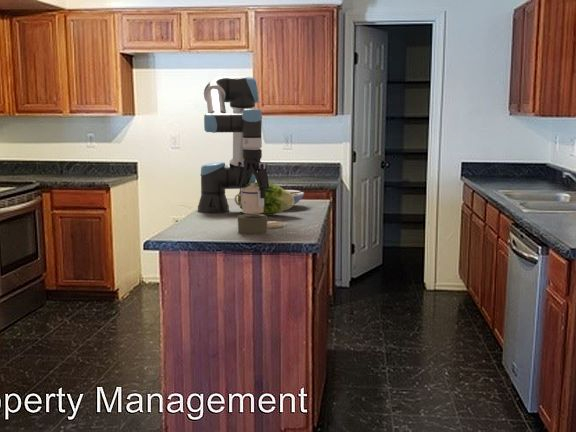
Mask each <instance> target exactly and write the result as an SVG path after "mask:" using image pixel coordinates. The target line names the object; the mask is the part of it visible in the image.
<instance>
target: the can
mask: <svg viewBox="0 0 576 432" xmlns="http://www.w3.org/2000/svg"><path fill="white" fill-rule="evenodd" d="M267 221H268V215H264V214H246V213H241V214H238V215H237V229H238V231H237V234H239V235H242V236H262V234H263V235H266V234H267V233H268V228H267Z"/></svg>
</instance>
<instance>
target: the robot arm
mask: <svg viewBox="0 0 576 432" xmlns="http://www.w3.org/2000/svg"><path fill="white" fill-rule="evenodd" d="M258 91H259V90H258V85H257V80H256V79H255V78H254V77H251V76H223V75H222V76H218V77H215V78H214V79H212V80H211V81H209V82H208V83H207V84H206V86H205V87H204V89H203V96H204V97H203V99H204V101H205V102H206V106H207V107H206V108H207V113H205V114H204V116H203V123H204V124H203V127H204V129H203V130H204V131H205V132H206V133H213V134H215V133H216V134H217V133H232V158H231V159H230V160H229V164H226V163H225V161H215V162H209V163H205V164H203V165H202V166H201V167H200V174H199V176H200V194H201V195H200V198H199V201H198V205H197V211H198V213H199V212H200V213H207V214H208V213H209V214H215V213H216V214H217V213H218V214H219V213H220V214H221V213H225V212H226V213H227V212H229V211H230V205H229V202H228V198H227V196H226V190H239V192H240V194H242V192H241V191H242V189H245V188H246V187H247V186H246V185H247V184H251V183H258V186H259V189H258V207H262V206H264V198H265V190H266V189H269V184H270V182H269V179H268V178H269V176H268V172H267V171H268V170H267V169H268V168H267V166H268V164H267V163H262V162H261V159H262V158H263V152H262V147H263V141H262V140H263V139H262V137H263V136H262V126H263V125H262V124H263V123H262V119H263V114H262V110H261V109H259V108H255V107H256V104H257V103H259V92H258ZM225 103H229V107H230V108H231V109H232V113H227V110H226V109H227V108H226V105H225ZM241 204H242V196H241Z"/></svg>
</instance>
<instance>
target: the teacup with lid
mask: <svg viewBox="0 0 576 432" xmlns="http://www.w3.org/2000/svg"><path fill="white" fill-rule="evenodd" d="M255 183H256V182H255ZM255 183H251V184H250V186H248V187H247V188H245V189H242V191H241V192H242V194H239V193H237V194H236V195H235V196H234V202H235V204H236V205H237V206H238V207H240V206H242V209H241V210H242V211H241V212H242V214H260V213H263V212H264V206H262V207H258V189H259V187H258V186H255ZM238 196H242V204H239V203H238Z"/></svg>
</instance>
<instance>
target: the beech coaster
mask: <svg viewBox="0 0 576 432" xmlns="http://www.w3.org/2000/svg"><path fill="white" fill-rule="evenodd" d="M283 225H284V224H283V222H281V221H277V220H276V221H275V220H273V221H272V220H267V229H279V228H280V229H281V228H282V227H283Z"/></svg>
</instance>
